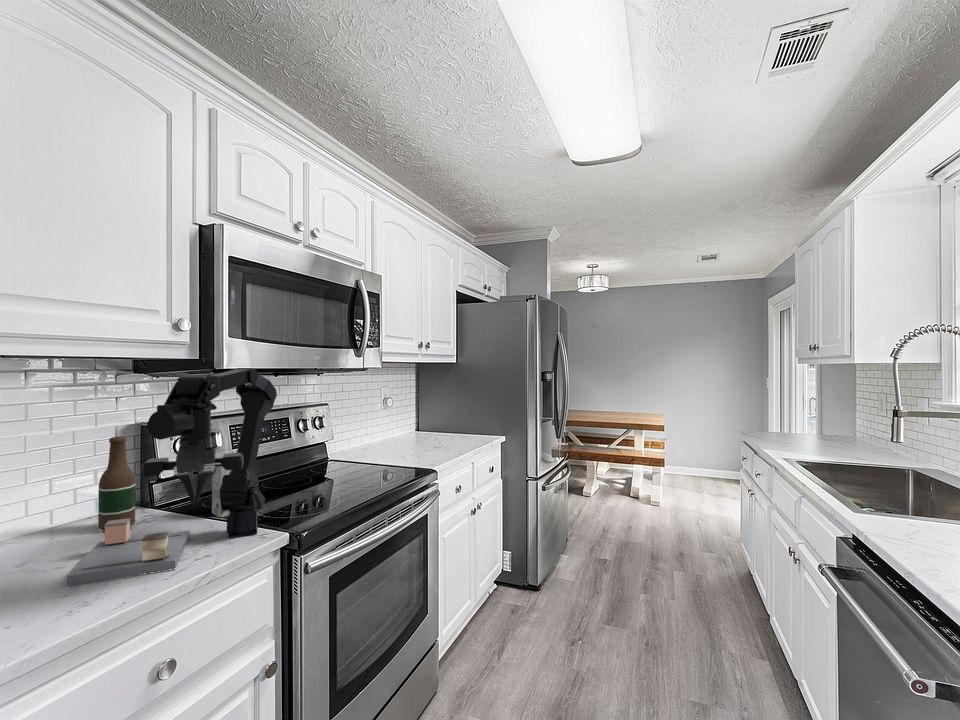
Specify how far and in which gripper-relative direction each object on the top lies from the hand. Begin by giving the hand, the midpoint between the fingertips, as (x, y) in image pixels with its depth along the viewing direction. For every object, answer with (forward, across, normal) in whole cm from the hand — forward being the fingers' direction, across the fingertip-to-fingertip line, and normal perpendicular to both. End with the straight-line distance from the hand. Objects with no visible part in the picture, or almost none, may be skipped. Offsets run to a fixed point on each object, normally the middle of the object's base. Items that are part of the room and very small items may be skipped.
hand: (194, 503), depth 102 cm
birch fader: (+11, -7, 0) cm, 13 cm away
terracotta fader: (+11, -17, +14) cm, 25 cm away
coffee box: (+13, +5, +36) cm, 39 cm away
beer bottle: (+13, -22, +34) cm, 43 cm away
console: (+13, -12, +7) cm, 19 cm away
